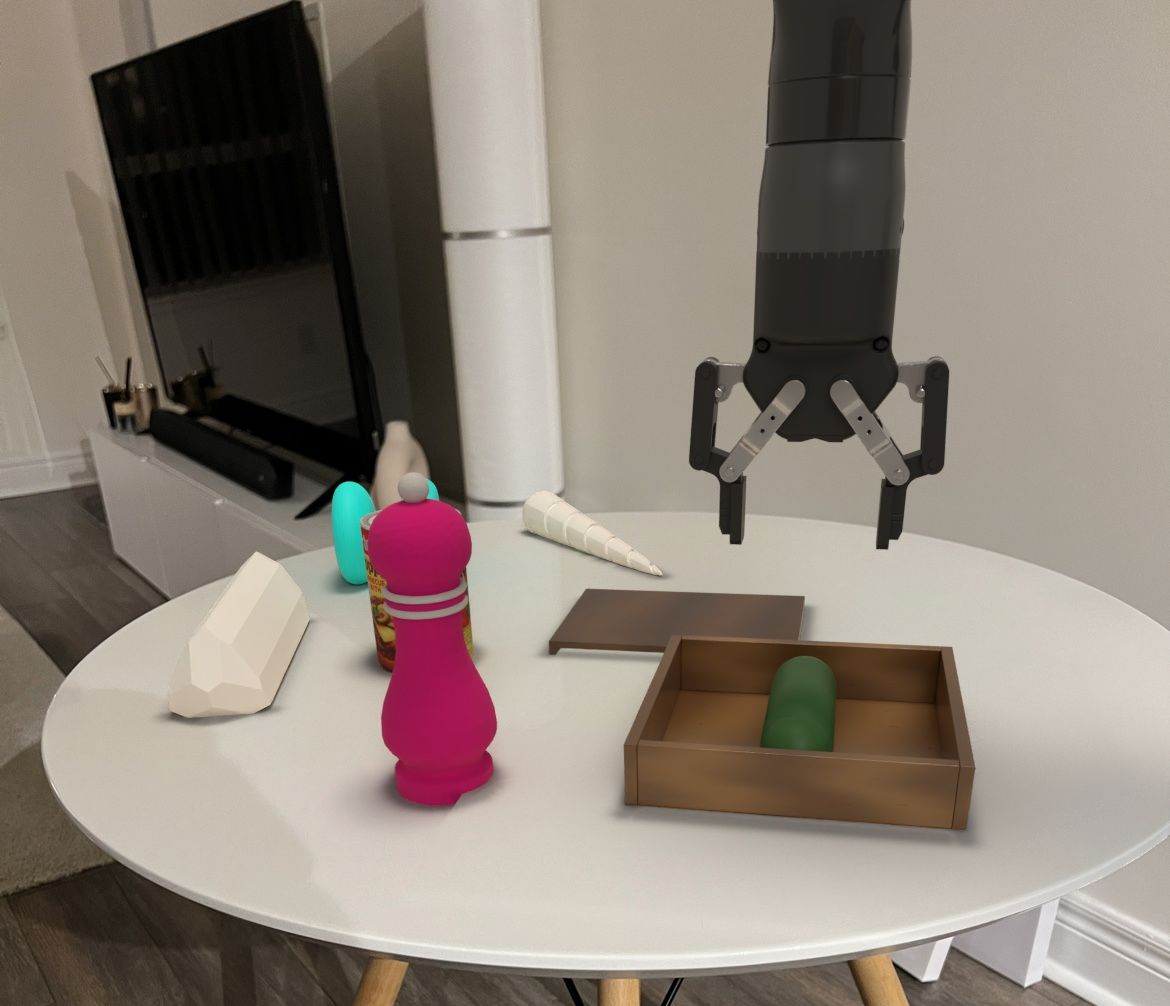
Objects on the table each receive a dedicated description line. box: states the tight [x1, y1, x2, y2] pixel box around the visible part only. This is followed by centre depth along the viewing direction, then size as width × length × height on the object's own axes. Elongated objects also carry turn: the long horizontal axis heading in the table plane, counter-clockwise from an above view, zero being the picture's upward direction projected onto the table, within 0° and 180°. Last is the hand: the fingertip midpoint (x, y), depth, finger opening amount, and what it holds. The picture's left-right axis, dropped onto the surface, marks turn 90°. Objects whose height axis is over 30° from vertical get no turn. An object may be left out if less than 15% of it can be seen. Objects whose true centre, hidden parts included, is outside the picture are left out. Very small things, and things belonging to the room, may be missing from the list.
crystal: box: [167, 550, 311, 719], centre depth 90 cm, size 7×7×24 cm
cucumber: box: [760, 656, 837, 752], centre depth 71 cm, size 14×4×4 cm, turn 167°
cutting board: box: [548, 588, 806, 656], centre depth 94 cm, size 20×14×2 cm
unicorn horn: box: [521, 490, 664, 576], centre depth 116 cm, size 5×24×5 cm, turn 29°
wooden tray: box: [623, 635, 976, 832], centre depth 71 cm, size 20×19×5 cm
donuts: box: [331, 478, 440, 586], centre depth 109 cm, size 10×10×10 cm
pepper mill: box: [367, 471, 498, 807], centre depth 66 cm, size 7×7×20 cm
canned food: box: [360, 508, 475, 674], centre depth 88 cm, size 8×8×12 cm
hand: (808, 543), depth 66 cm, fingers open, 8 cm apart
